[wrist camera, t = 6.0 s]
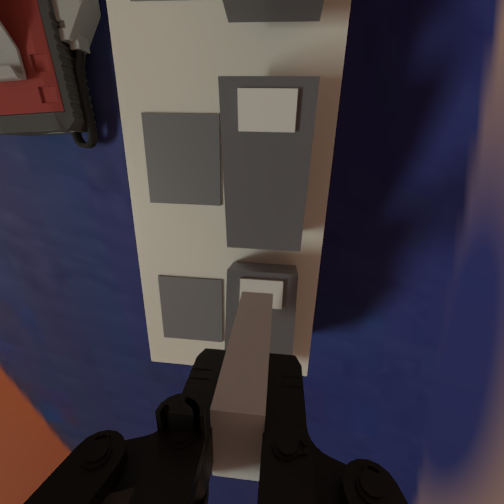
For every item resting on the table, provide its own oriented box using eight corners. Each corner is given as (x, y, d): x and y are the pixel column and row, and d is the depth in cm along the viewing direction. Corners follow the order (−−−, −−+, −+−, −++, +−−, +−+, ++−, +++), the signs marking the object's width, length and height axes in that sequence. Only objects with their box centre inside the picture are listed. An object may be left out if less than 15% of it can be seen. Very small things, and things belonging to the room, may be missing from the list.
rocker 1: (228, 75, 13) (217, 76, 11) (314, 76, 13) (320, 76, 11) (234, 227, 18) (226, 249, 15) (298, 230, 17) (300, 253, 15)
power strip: (130, -197, 15) (56, -364, 10) (360, -217, 14) (401, -414, 9) (174, 323, 27) (150, 363, 22) (302, 334, 26) (307, 378, 21)
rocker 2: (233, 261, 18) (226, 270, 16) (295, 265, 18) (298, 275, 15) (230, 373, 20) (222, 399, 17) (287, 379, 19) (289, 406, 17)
